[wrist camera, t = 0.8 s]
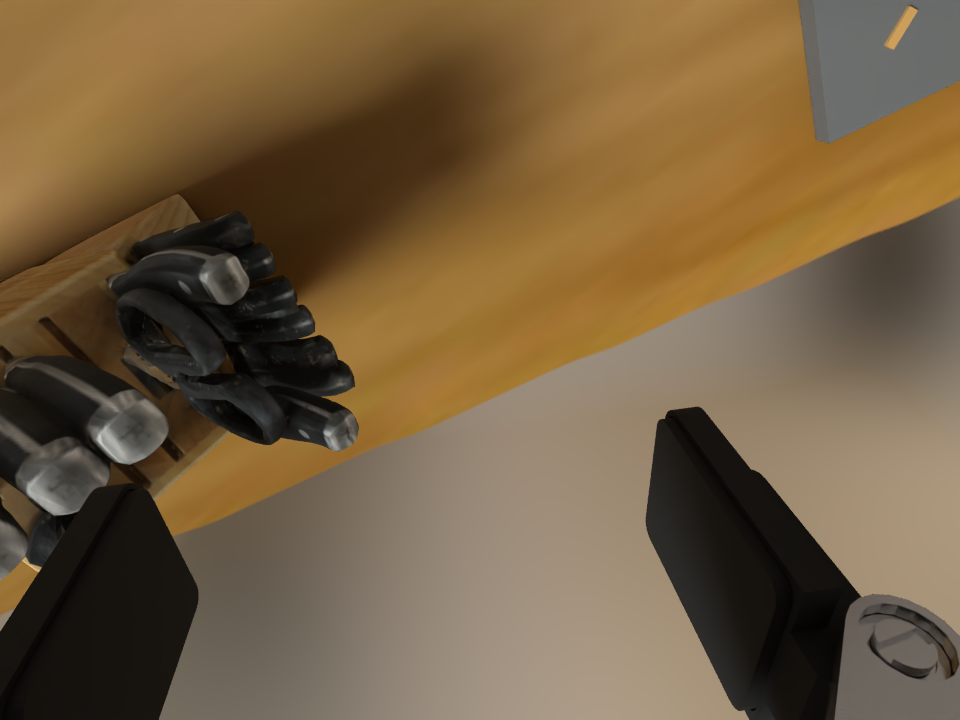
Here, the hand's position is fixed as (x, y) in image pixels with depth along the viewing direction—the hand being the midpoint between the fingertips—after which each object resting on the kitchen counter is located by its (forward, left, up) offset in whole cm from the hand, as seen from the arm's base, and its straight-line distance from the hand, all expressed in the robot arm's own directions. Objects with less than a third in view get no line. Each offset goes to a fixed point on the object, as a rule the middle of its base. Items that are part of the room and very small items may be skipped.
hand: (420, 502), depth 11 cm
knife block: (+1, -23, -34) cm, 41 cm away
